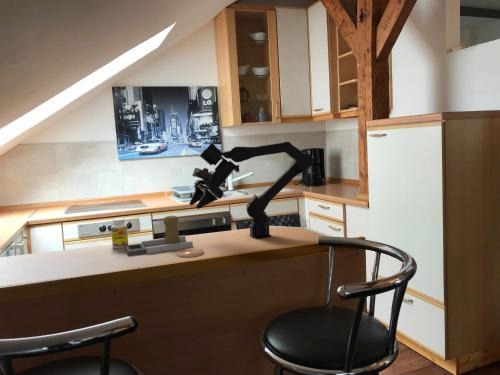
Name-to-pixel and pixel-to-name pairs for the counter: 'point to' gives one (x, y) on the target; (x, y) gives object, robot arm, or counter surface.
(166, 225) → the cork
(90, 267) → the counter surface
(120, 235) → the supplement bottle
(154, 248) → the guide channel
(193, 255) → the coaster
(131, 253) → the trap box
